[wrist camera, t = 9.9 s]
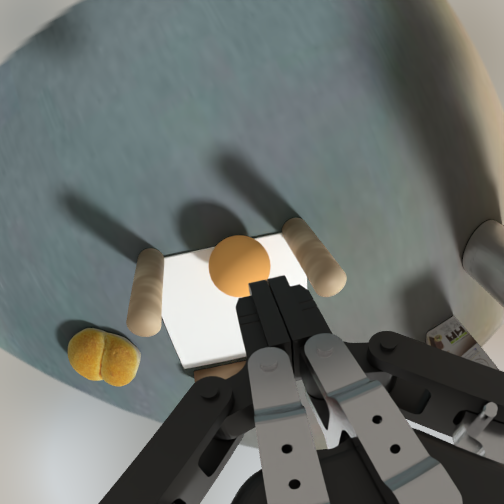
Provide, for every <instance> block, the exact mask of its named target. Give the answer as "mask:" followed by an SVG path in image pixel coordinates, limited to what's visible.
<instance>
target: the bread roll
mask: <svg viewBox="0 0 504 504" xmlns="http://www.w3.org/2000/svg"><path fill="white" fill-rule="evenodd" d="M68 358H69V361H70V364H71V365H72V367H73V368H74V369H75V370H76V371H77V372H78V373H79V374H80V375H82V376H84V377H85V378H87V379H89V380H95V381H97V380H104V381H106V382H107V383H109V384H111V385H114V386H123V385H126V384H128V383H129V382H130V381H131V380H132V379H133V378H134V377H135V374H136V372H137V369H138V366H139V362H140V358H141V353H140V351H139V350H138V348H137V347H136V346H134V345H133V344H132V343H131V342H130V341H129V340H128V339H126V338H124V337H122V336H119V335H116V334H112V333H107V332H105V331H103V330H100V329H95V328H86V329H84V330H82V331H80V332H79V333H77V334H76V335H74V336H73V337H72V339H71V340H70V342H69V345H68Z"/></svg>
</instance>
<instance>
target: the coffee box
mask: <svg viewBox="0 0 504 504" xmlns="http://www.w3.org/2000/svg"><path fill="white" fill-rule="evenodd" d="M426 344H427V345H430V346H433V347H436V348H438V349H441V350H444V351H446V352H449V353H452V354H455V355H457V356H460V357H463V358H466V359H469V360H471V361H474V362H477V363H480V364H483V365H485V366H488V367H491V368H494V369H497V370H499V369H498V368H497V367H496V365H495V364H494V363H493V362H492V360H491V359H490V358H489V356H488V355H487V354H486V353H485V352H484V350H483V349H482V348H481V346H480V345H479V344H478V343H477V342H476V341H475V339H474V338H473V337H472V336H471V335H470V333H469V332H468V331H467V330H466V329H465V328H464V326H463V325H462V324H461V323H460V322H459V321H458V319H457V318H456V317H455V316H452V317H451V318H449V319H448V320H446V321H445V322H443V323H442V324H440V325H438V326H437V327H435V328H434V329H432V330H430V331H429V332H428V333H427V339H426Z"/></svg>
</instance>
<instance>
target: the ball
mask: <svg viewBox="0 0 504 504" xmlns="http://www.w3.org/2000/svg"><path fill="white" fill-rule="evenodd" d="M270 267H271V265H270V259H269V255H268V253H267V251H266V249H265V248H264V247H263V246H262V244H261V243H259V242H258V241H257V240H255V239H253V238H251V237H248V236H243V235H235V236H231V237H228V238H226V239H224V240H222V241H221V242H220V243H218V244H217V245H216V247H215V248H214V249H213V251H212V253H211V255H210V258H209V267H208V268H209V274H210V277H211V280H212V282H213V283H214V285H215V286H216V287H217V288H218V289H219V290H220V291H221V292H223V293H225V294H227V295H229V296H232V297H246V296H250V292H249V286H248V283H252V282H256V281H261V280H265V279H266V280H267V279H268V277H269V274H270Z"/></svg>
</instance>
